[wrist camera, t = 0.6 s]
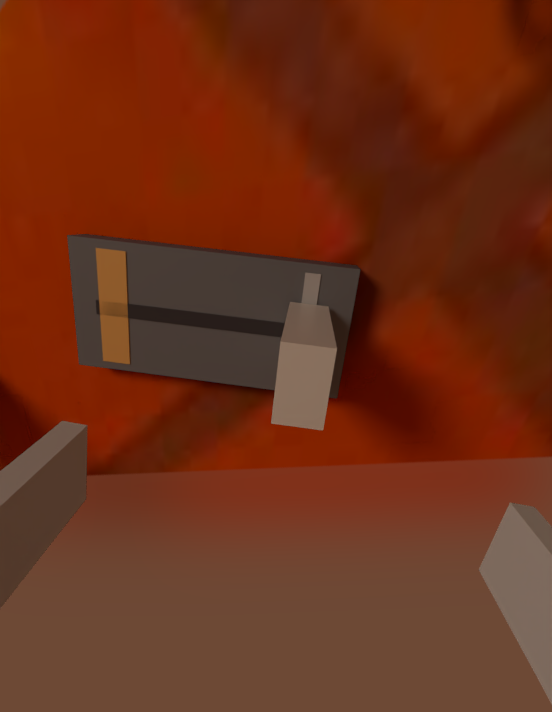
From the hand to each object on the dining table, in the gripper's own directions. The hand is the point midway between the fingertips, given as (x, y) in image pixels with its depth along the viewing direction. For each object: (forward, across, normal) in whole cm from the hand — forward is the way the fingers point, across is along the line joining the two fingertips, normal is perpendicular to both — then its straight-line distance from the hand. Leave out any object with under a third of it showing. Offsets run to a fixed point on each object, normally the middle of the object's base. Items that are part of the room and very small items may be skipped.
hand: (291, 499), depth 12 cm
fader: (+19, +1, 0) cm, 19 cm away
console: (+23, -7, 0) cm, 24 cm away
